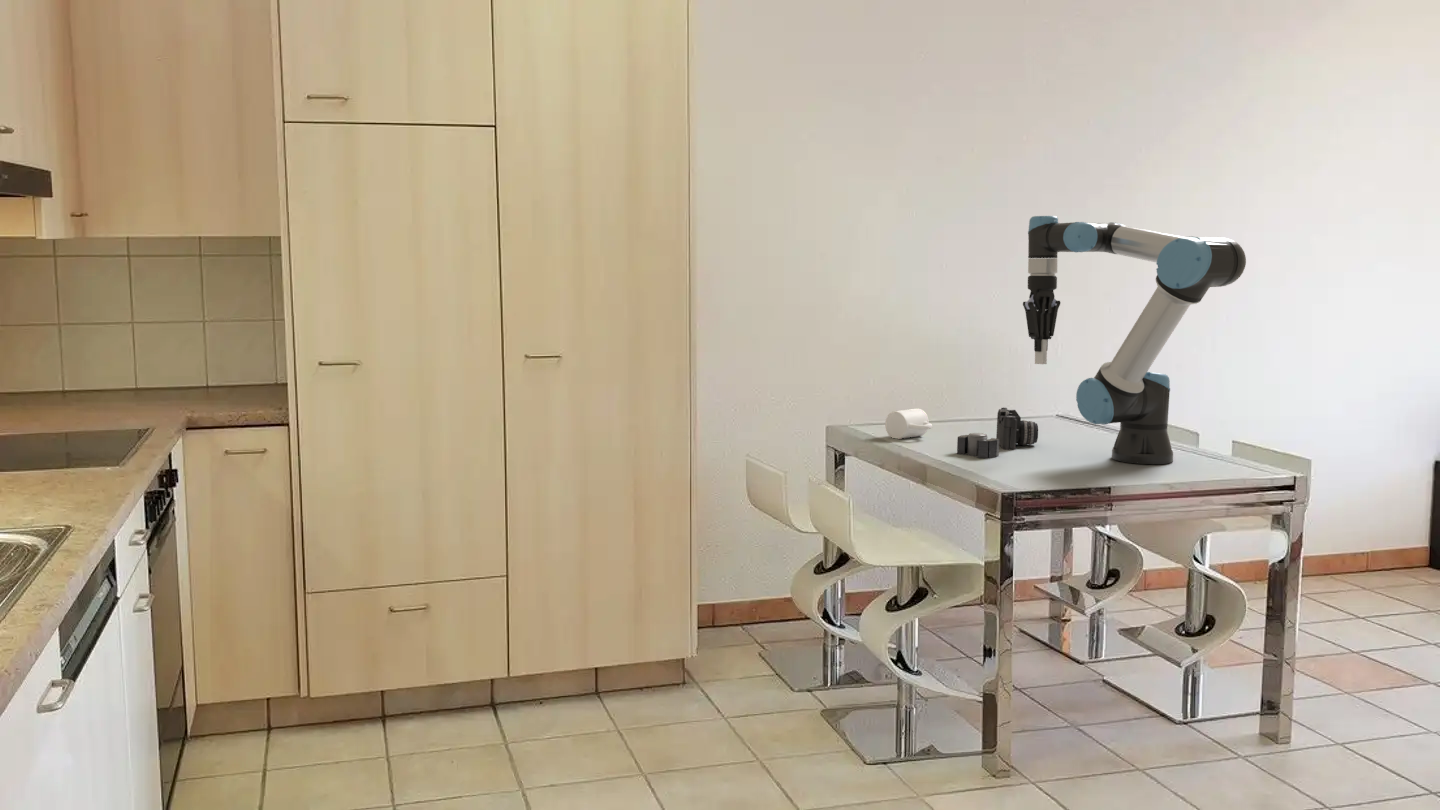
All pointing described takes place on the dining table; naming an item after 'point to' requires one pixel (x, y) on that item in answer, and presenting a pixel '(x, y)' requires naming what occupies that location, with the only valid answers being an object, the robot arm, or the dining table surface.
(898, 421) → the mug
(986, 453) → the clustered grey blocks
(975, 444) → the grey cylinder block
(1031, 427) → the camera
